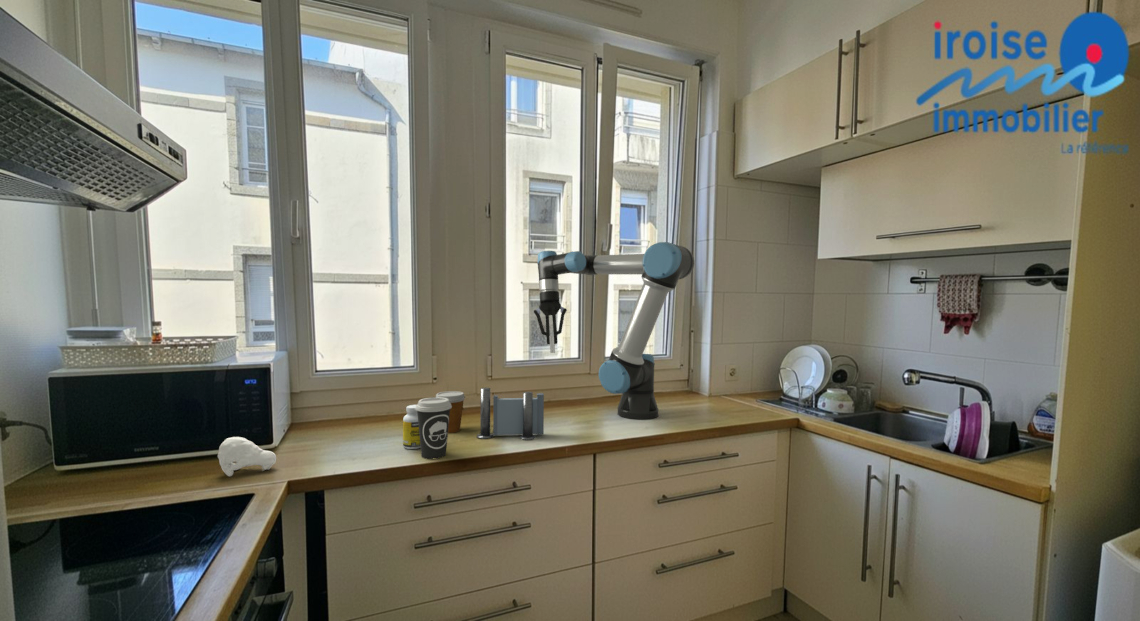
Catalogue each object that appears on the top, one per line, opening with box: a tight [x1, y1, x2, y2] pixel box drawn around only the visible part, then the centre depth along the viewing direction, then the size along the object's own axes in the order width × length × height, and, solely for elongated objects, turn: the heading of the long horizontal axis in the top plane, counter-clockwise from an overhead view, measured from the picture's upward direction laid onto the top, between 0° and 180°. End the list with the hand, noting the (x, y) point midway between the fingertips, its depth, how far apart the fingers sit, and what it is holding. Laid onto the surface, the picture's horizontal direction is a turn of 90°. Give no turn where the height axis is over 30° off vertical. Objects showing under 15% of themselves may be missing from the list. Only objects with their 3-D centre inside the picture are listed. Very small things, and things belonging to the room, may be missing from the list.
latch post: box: [519, 391, 537, 441], centre depth 144 cm, size 5×5×14 cm
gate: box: [492, 392, 545, 436], centre depth 146 cm, size 16×2×12 cm, turn 96°
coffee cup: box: [415, 396, 452, 460], centre depth 128 cm, size 10×10×15 cm
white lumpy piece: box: [217, 436, 277, 478], centre depth 115 cm, size 6×8×12 cm
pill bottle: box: [402, 404, 421, 450], centre depth 135 cm, size 6×6×12 cm
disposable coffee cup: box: [435, 390, 466, 434], centre depth 152 cm, size 10×10×12 cm
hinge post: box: [476, 387, 495, 440], centre depth 145 cm, size 5×5×15 cm
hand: (552, 352), depth 178 cm, fingers closed
